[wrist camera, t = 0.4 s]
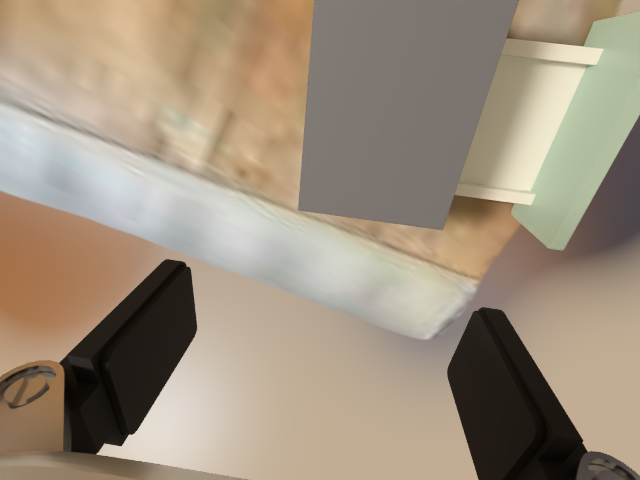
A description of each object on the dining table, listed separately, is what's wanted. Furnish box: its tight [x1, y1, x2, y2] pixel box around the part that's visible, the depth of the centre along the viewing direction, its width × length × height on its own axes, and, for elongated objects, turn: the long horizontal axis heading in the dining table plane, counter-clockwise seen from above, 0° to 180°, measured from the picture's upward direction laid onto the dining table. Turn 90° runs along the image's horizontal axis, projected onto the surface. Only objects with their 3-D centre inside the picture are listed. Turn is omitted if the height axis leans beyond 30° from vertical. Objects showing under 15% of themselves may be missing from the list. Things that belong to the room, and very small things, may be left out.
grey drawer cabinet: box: [298, 0, 519, 230], centre depth 30 cm, size 14×18×9 cm
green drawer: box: [455, 12, 640, 250], centre depth 29 cm, size 14×19×8 cm
